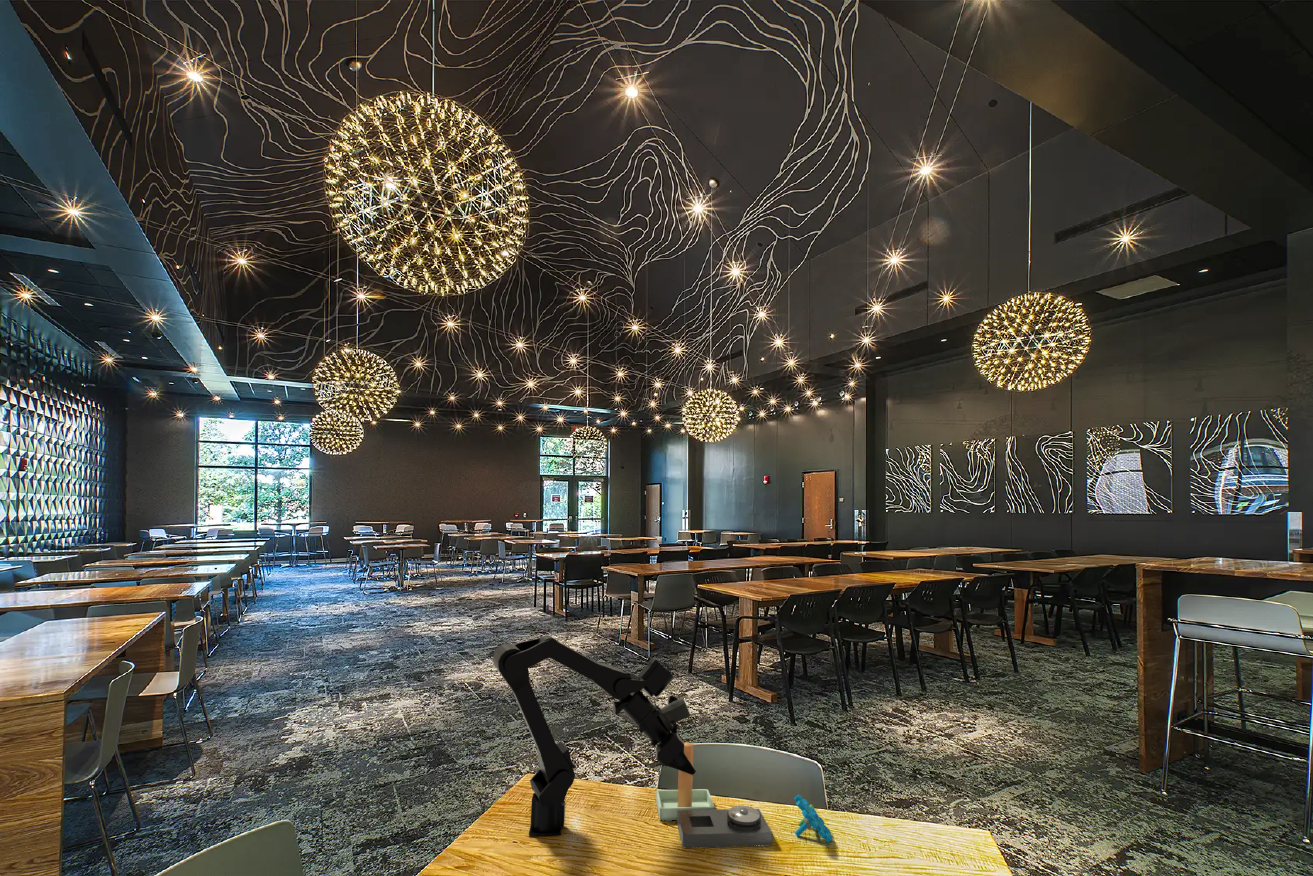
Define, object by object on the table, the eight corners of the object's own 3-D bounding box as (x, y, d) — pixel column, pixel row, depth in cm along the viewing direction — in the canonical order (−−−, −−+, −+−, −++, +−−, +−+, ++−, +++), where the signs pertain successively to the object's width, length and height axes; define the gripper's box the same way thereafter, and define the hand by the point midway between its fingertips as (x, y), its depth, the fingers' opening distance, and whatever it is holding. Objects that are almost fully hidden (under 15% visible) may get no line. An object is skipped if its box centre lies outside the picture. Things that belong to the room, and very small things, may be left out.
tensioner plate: (682, 848, 117) (683, 822, 118) (676, 823, 127) (676, 799, 128) (771, 845, 119) (771, 820, 120) (759, 821, 129) (758, 798, 129)
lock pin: (678, 810, 131) (680, 746, 134) (676, 804, 134) (678, 742, 137) (692, 810, 131) (694, 746, 134) (690, 804, 135) (692, 742, 137)
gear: (836, 845, 117) (798, 799, 120) (814, 866, 116) (777, 820, 120) (834, 826, 127) (799, 785, 130) (814, 846, 127) (780, 804, 130)
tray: (659, 821, 128) (660, 808, 128) (656, 801, 137) (656, 790, 137) (714, 819, 129) (714, 807, 129) (707, 800, 138) (707, 789, 138)
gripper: (674, 698, 127) (724, 753, 126) (664, 676, 145) (709, 724, 145) (636, 738, 125) (687, 793, 125) (631, 710, 144) (676, 759, 143)
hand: (691, 764), depth 134 cm, fingers open, 9 cm apart
